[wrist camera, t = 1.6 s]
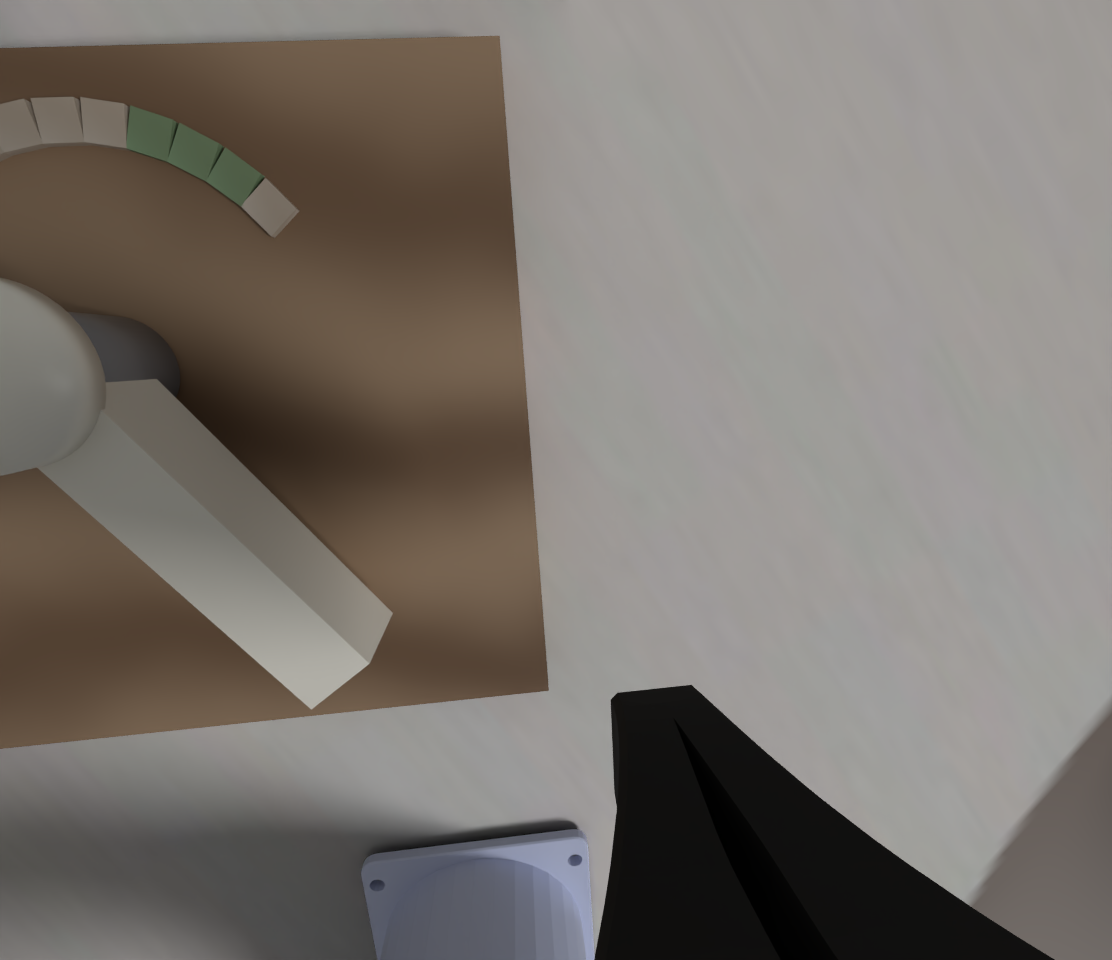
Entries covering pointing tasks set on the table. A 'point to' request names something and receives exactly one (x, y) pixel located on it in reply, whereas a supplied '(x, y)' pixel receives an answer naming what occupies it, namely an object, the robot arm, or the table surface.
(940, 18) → the table surface
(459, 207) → the wood grain tray mat
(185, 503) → the lever
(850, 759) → the table surface
